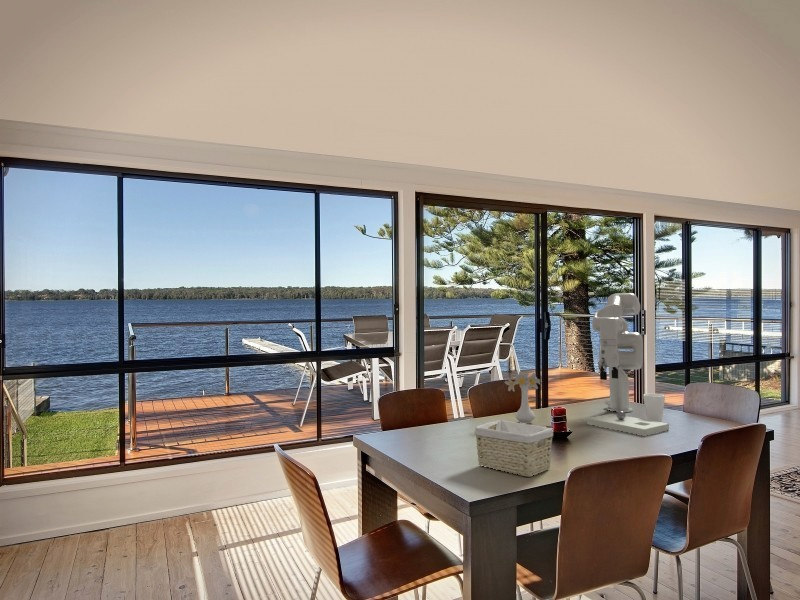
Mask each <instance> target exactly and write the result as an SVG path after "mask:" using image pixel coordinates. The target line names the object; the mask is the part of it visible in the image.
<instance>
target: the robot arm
mask: <svg viewBox="0 0 800 600" xmlns="http://www.w3.org/2000/svg"><path fill="white" fill-rule="evenodd" d="M640 312H641V303H640V301H639V299H638V296H637V295H636V294H635V293H632V292H627V293H626V292H621V293H620V292H618V293H613V294H610V295H609V296H608V299H607V302H606V304H605V306H604V307H602V308H600V309H598V310H597V311H596V312H595V313H594V315H593V316H592V317H593V318H592V323H591V327H592V330H593V331H594V332H596V333H599V335H600V336H599V339H600V341H599V342H600V343H599V344H600V349H599V360H598V361H597V366H598V369H599V370H598V371H599V380H602V381H607V380H608V374H609V380H608V381H609V400H605V402H604V405H606V406H607V405H608V406H607V407H606V410H608V411H609V410H610V411H609V412H613V411H616V412H615V413H618V412H619V411H622V412H624V413H630V412H632V411H633V408H632V407H630V391H629V389H630V383H629V381H630V380H629V376H628V374H627V373H626V372H625V371H624V370H640V369H641V368H642V367H643V364H644V360H643V358H644V357H643V356H644V352H643V351H644V343H643V339H644V338H643V336H642V334H641V333H640V332H637V331H636V332H635V331H630V332H629V324H628V322H627V321H626V319H624V318H623V317H622V316H637V315H639V313H640ZM607 369H608V371H607ZM607 373H608V374H607Z"/></svg>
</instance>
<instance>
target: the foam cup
mask: <svg viewBox="0 0 800 600" xmlns="http://www.w3.org/2000/svg"><path fill="white" fill-rule="evenodd" d="M665 401H666V396H665V394H662V393H652V392H651V393H644V394H643V402H644V408H645V415H646V420H651V421H656V422H662V423H663V417H664V408H665V407H664V406H665Z"/></svg>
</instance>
